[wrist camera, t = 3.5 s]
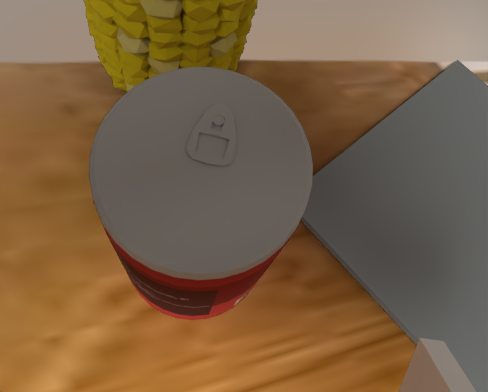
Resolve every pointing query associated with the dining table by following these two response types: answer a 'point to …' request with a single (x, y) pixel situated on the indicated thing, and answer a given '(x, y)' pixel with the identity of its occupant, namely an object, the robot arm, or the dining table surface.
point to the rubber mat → (418, 216)
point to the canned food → (199, 186)
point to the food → (167, 35)
